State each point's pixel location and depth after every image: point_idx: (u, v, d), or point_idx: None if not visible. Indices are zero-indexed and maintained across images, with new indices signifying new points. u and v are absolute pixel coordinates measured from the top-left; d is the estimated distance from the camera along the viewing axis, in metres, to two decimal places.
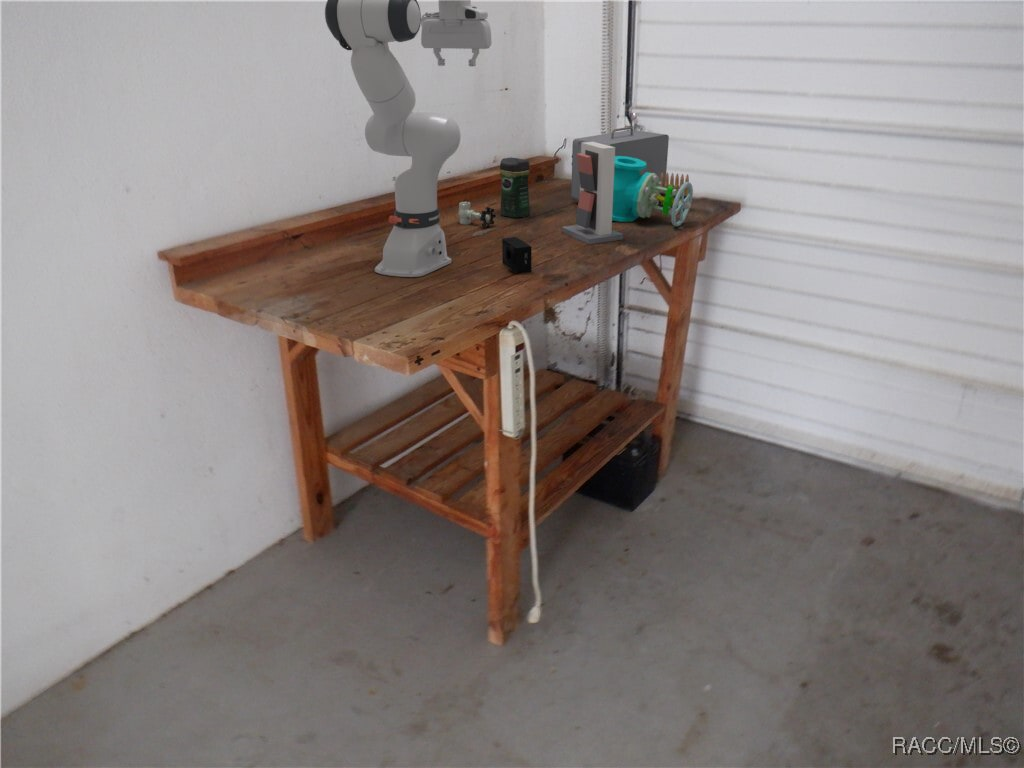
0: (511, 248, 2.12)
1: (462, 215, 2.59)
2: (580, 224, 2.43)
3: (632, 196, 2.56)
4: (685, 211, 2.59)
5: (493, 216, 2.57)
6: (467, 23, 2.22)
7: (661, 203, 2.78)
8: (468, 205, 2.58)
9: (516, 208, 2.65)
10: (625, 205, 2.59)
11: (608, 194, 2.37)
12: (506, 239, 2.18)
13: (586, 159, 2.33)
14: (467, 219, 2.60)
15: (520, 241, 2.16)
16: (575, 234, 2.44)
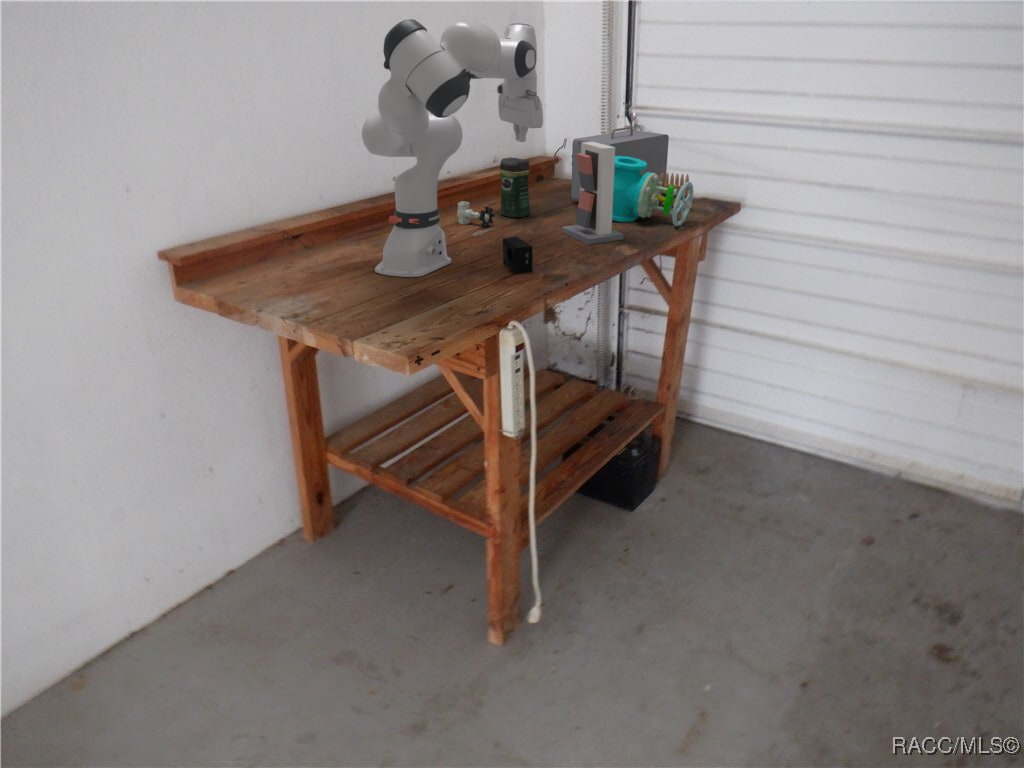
0: (512, 248, 2.12)
1: (460, 214, 2.59)
2: (580, 224, 2.43)
3: (633, 196, 2.56)
4: (686, 211, 2.59)
5: (492, 215, 2.57)
6: None
7: (661, 203, 2.78)
8: (467, 205, 2.59)
9: (516, 208, 2.65)
10: (625, 205, 2.59)
11: (608, 194, 2.37)
12: (507, 239, 2.18)
13: (586, 159, 2.33)
14: (466, 219, 2.60)
15: (521, 241, 2.16)
16: (575, 234, 2.44)
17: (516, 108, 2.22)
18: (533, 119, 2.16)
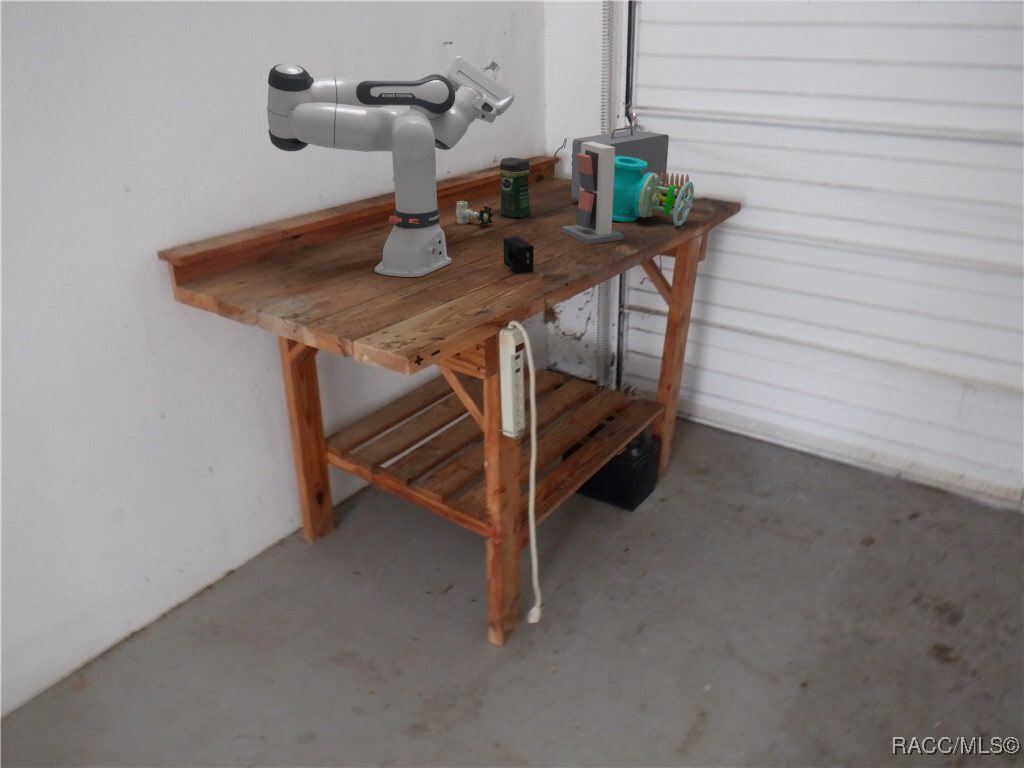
0: (513, 248, 2.12)
1: (459, 214, 2.60)
2: (580, 224, 2.43)
3: (634, 196, 2.56)
4: (686, 211, 2.59)
5: (491, 215, 2.58)
6: None
7: (661, 203, 2.78)
8: (465, 204, 2.59)
9: (516, 208, 2.65)
10: (626, 205, 2.59)
11: (608, 194, 2.37)
12: (507, 239, 2.18)
13: (586, 159, 2.33)
14: (464, 218, 2.61)
15: (522, 241, 2.16)
16: (575, 234, 2.44)
17: (477, 84, 2.32)
18: None
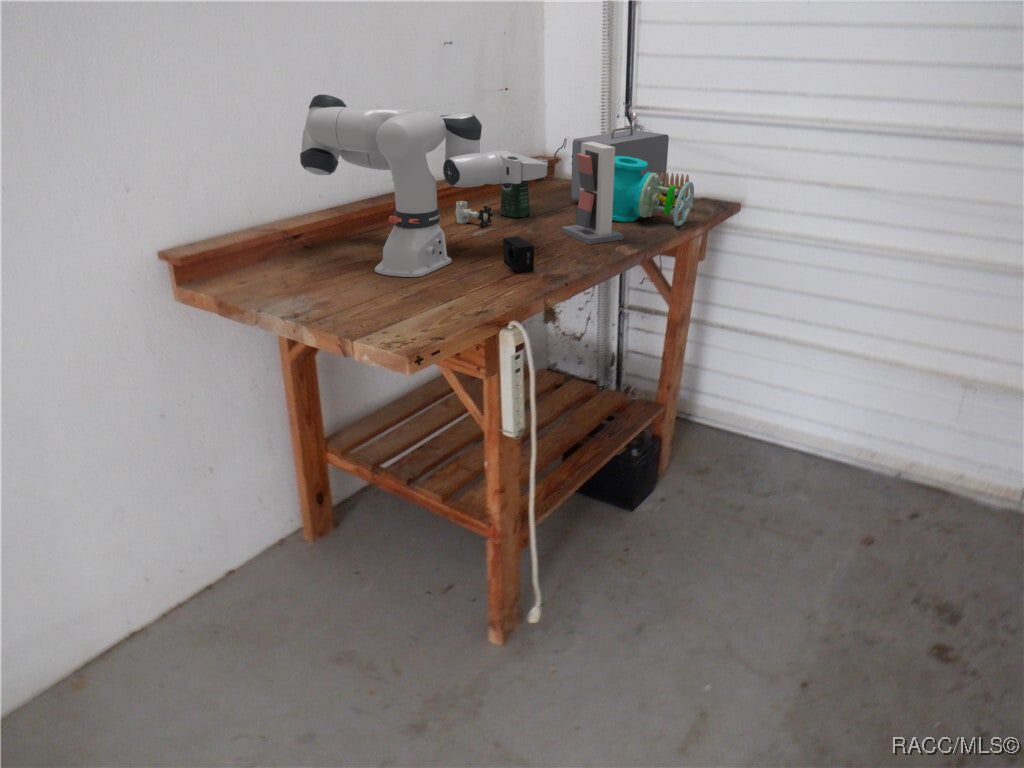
0: (514, 248, 2.12)
1: (459, 214, 2.60)
2: (580, 224, 2.43)
3: (634, 196, 2.56)
4: (686, 211, 2.59)
5: (490, 215, 2.58)
6: None
7: (661, 203, 2.78)
8: (465, 204, 2.59)
9: (516, 208, 2.65)
10: (626, 205, 2.59)
11: (608, 194, 2.37)
12: (508, 239, 2.18)
13: (586, 159, 2.33)
14: (464, 218, 2.61)
15: (522, 241, 2.17)
16: (575, 234, 2.44)
17: None
18: None
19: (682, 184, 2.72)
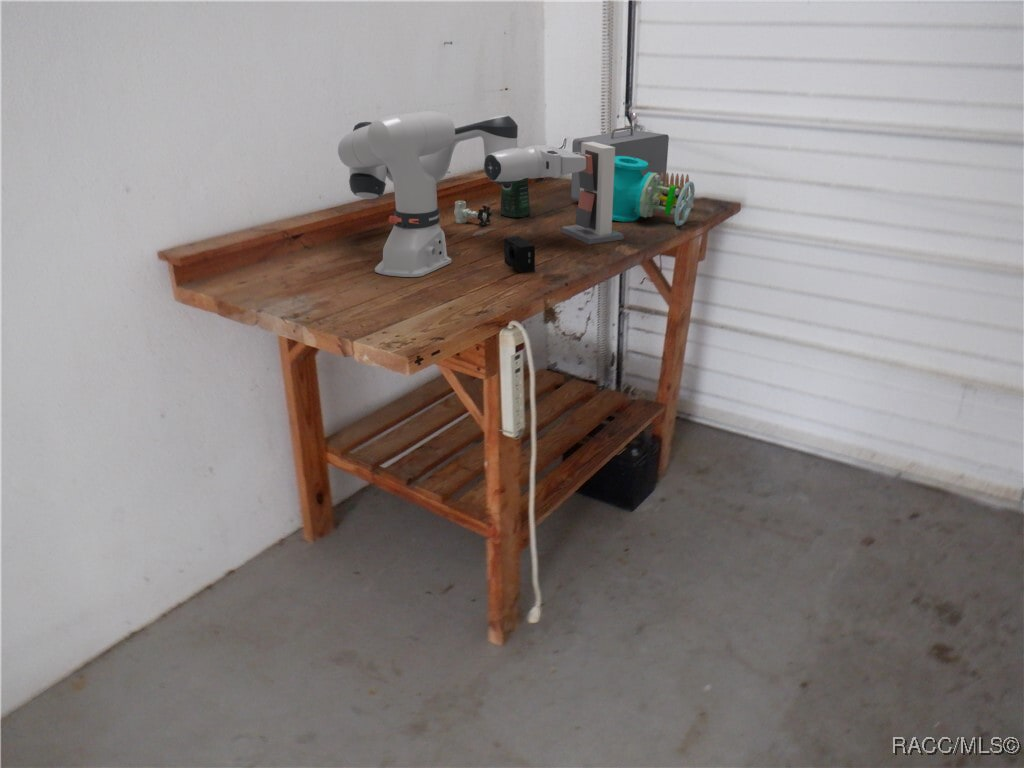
0: (515, 247, 2.12)
1: (458, 214, 2.60)
2: (580, 224, 2.43)
3: (635, 196, 2.56)
4: (687, 210, 2.59)
5: (489, 214, 2.59)
6: None
7: (661, 203, 2.78)
8: (464, 204, 2.60)
9: (516, 208, 2.65)
10: (627, 205, 2.59)
11: (608, 194, 2.37)
12: (508, 238, 2.19)
13: (587, 158, 2.33)
14: (463, 218, 2.61)
15: (523, 240, 2.17)
16: (575, 234, 2.44)
17: None
18: None
19: (682, 184, 2.72)
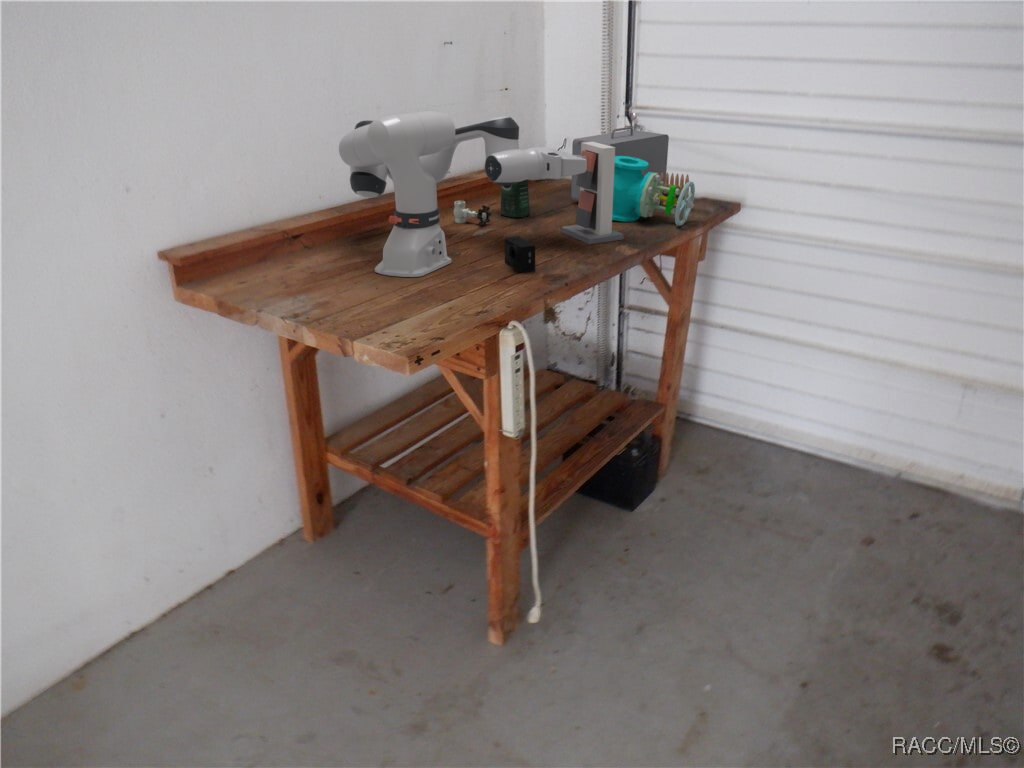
0: (515, 247, 2.12)
1: (457, 214, 2.60)
2: (580, 224, 2.43)
3: (635, 196, 2.56)
4: (687, 210, 2.59)
5: (489, 214, 2.59)
6: None
7: (661, 203, 2.78)
8: (463, 204, 2.60)
9: (516, 208, 2.65)
10: (627, 205, 2.59)
11: (608, 194, 2.37)
12: (509, 238, 2.19)
13: (591, 155, 2.33)
14: (462, 218, 2.61)
15: (523, 240, 2.17)
16: (575, 234, 2.44)
17: None
18: None
19: (682, 184, 2.72)
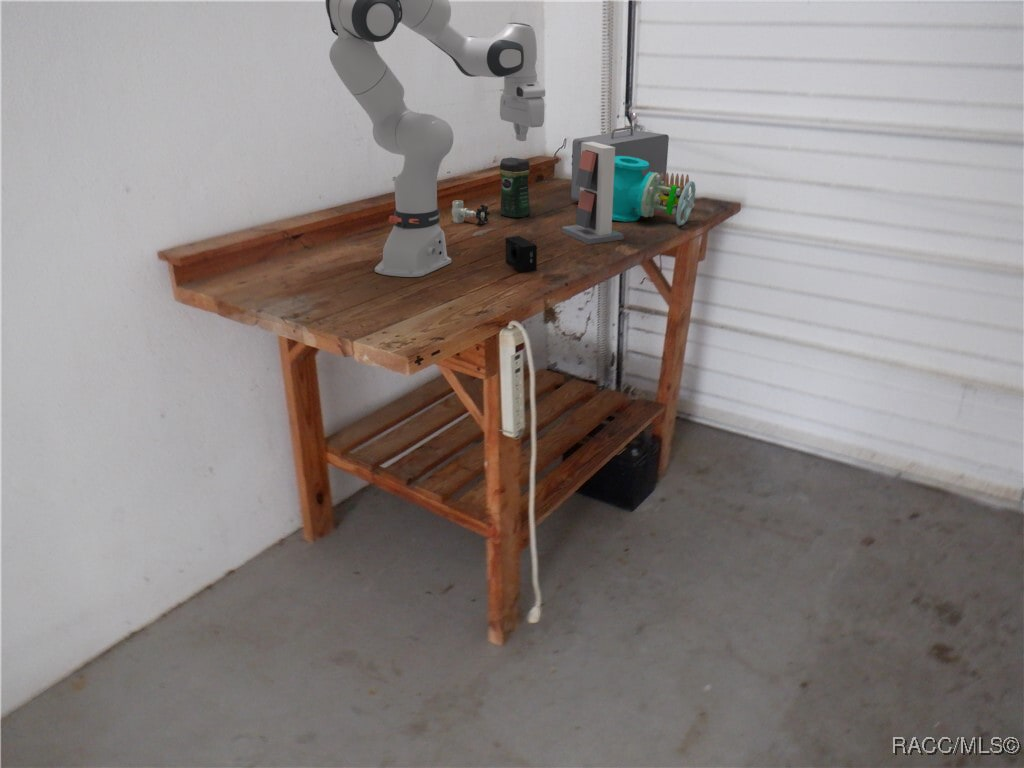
0: (517, 247, 2.12)
1: (455, 213, 2.61)
2: (580, 224, 2.43)
3: (636, 196, 2.56)
4: (688, 210, 2.60)
5: (487, 214, 2.60)
6: (519, 100, 2.17)
7: (661, 203, 2.78)
8: (461, 203, 2.60)
9: (516, 208, 2.65)
10: (628, 204, 2.59)
11: (608, 194, 2.37)
12: (510, 238, 2.19)
13: (591, 155, 2.33)
14: (461, 217, 2.62)
15: (524, 240, 2.17)
16: (575, 234, 2.44)
17: None
18: None
19: (682, 184, 2.72)
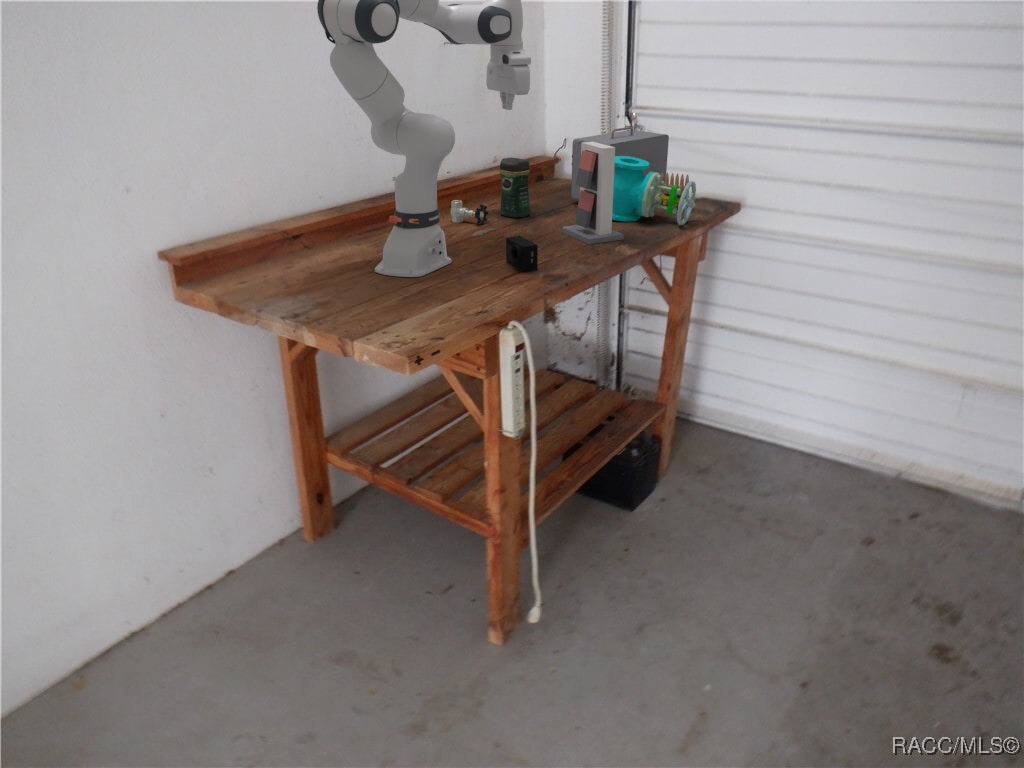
0: (517, 247, 2.13)
1: (454, 213, 2.61)
2: (580, 224, 2.43)
3: (636, 196, 2.56)
4: (688, 210, 2.60)
5: (486, 213, 2.60)
6: (505, 68, 2.18)
7: (661, 203, 2.78)
8: (460, 203, 2.61)
9: (516, 208, 2.65)
10: (629, 204, 2.59)
11: (608, 194, 2.37)
12: (510, 238, 2.19)
13: (591, 155, 2.33)
14: (459, 217, 2.62)
15: (525, 240, 2.17)
16: (575, 234, 2.44)
17: None
18: None
19: (682, 184, 2.72)
